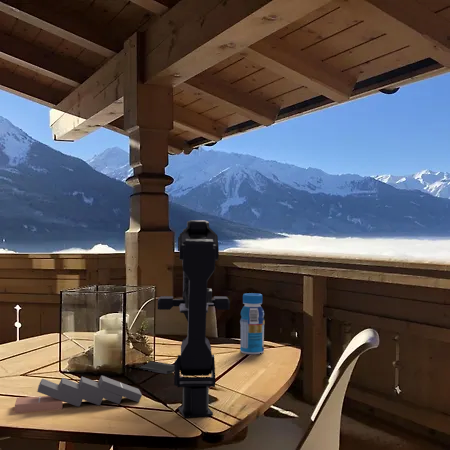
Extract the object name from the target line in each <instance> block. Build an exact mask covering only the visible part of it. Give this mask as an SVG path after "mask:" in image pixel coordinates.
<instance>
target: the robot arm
mask: <svg viewBox="0 0 450 450" xmlns="http://www.w3.org/2000/svg"><path fill="white" fill-rule="evenodd" d="M219 249H220V246H219V237H218V234H217V233H216V232H215V231H214V230H212V228H211V227H210V222H209V221H207V220H204V219H203V220H202V219H201V220H200V219H199V220H198V219H194V220H193V219H192V220H191V219H190V220H188V221H186V228H183V230H182V232H180V233H179V236H178V237H177V251H178V253H179V261H182V274H183V275H182V278H183V280H182V298H181V299H175V298H174V296H173V295H171V296H167V295H165V296H164V295H163V296H159V297H157V310H164V311H166V310H168V311H169V310H171V309H172V308H173V307H178V308H179V313H180V314H184V316H185V319H186V321H187V336H186V338H183V340H182V342H181V345H180V354H177V358H176V360H175V361H174V372H173V379H174V381H173V382H174V383H173V386H176V387H177V388H182V406H178V411H179V412H180V414H181V415H182V417H183V418H184V419H186V418H187V419H189V418H197V417H198V418H199V417H210V416H213V415H214V412H213V410H211V409H210V407H209V388H210V387H211V388H216V366H215V365H216V362H215V355H214V354H213V353H212V345H211V344H210V340H209V339H208V338H207V337H206V334H207V331H206V330H207V313H209V310H208V308H209V307H215V308H216V309H217V310H218V311H219V310H220V311H222V310H224V311H225V310H226V311H228V310H231V300H230V299H229V298H228V296H220V295H219V296H218V295H217V296H216V295H215V296H213V290H212V288H208V281H209V279H210V278H211V276H212V275H213V273H214V272H215V271H216V261H219V258H220V257H219V255H220V253H219V252H220V250H219ZM181 375H182V377H181ZM210 375H211V376H210Z"/></svg>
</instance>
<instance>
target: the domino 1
mask: <svg viewBox="0 0 450 450" xmlns="http://www.w3.org/2000/svg"><path fill="white" fill-rule="evenodd" d="M15 399H16V400H15V403H14V414H17V413H18V414H20V413H31V412H43V410H44V411H54V410H55V411H56V410H63V401H61V400H59V399H56V398H53V397H50V396H48V395H42V396H41V395H40V396H38V395H37V396H28V397H26V396H25V397H16V398H15Z"/></svg>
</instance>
